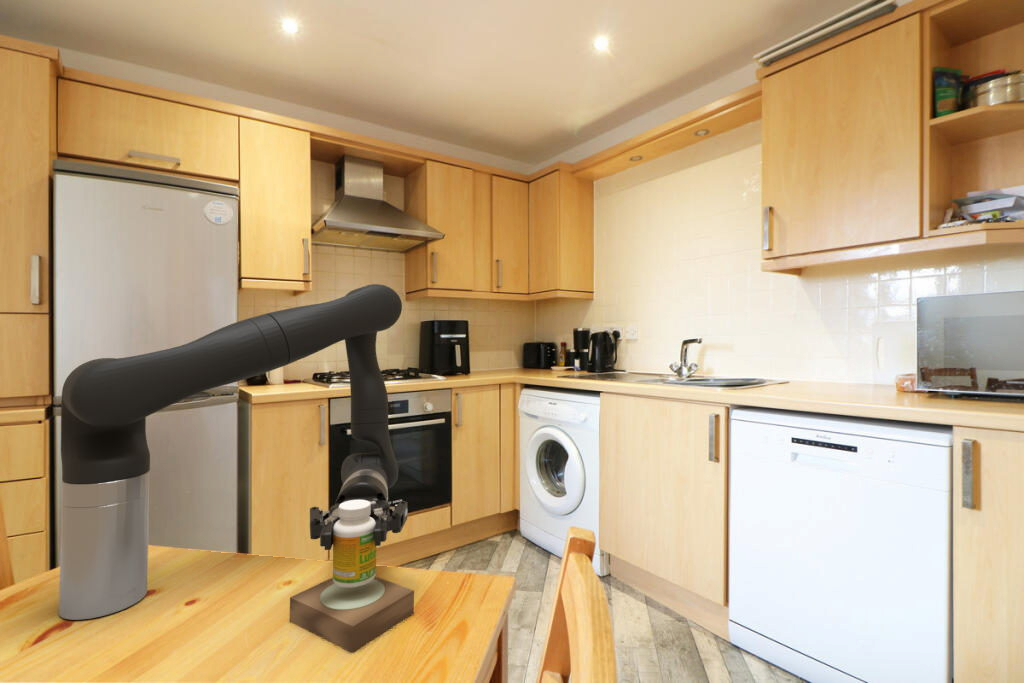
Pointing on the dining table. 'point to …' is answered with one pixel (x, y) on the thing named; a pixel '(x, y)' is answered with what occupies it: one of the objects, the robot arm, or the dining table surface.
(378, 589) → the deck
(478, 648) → the dining table surface
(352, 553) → the supplement bottle
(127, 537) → the robot arm
